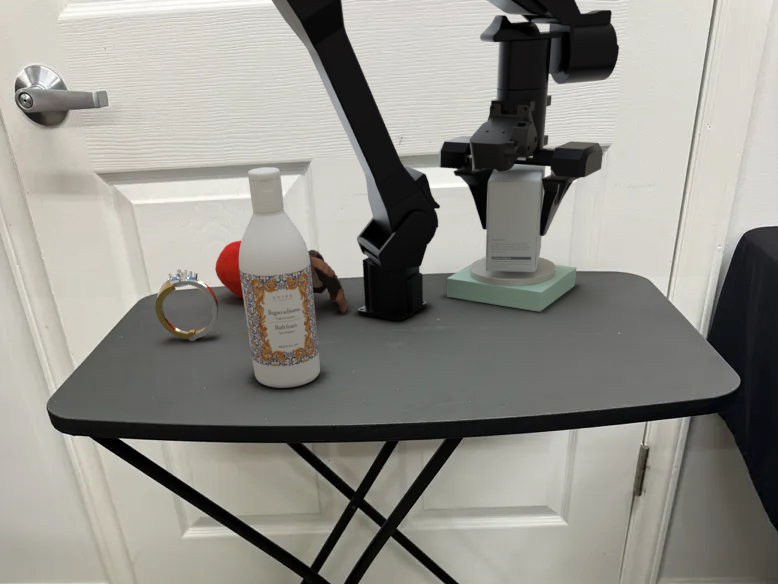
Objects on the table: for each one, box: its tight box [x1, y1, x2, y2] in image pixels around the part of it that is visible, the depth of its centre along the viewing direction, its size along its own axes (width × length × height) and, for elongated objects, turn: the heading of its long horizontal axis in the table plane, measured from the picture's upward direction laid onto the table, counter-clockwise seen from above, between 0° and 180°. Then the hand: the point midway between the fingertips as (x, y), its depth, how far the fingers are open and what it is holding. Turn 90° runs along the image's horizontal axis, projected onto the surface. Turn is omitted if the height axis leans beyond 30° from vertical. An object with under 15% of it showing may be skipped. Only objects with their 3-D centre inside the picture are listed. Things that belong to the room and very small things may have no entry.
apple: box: [214, 240, 243, 299], centre depth 101 cm, size 8×8×7 cm
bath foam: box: [239, 166, 321, 389], centre depth 76 cm, size 7×7×20 cm
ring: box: [154, 268, 219, 342], centre depth 89 cm, size 7×3×8 cm, turn 92°
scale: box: [446, 255, 577, 312], centre depth 100 cm, size 13×11×3 cm
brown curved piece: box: [308, 249, 348, 314], centre depth 98 cm, size 12×10×8 cm
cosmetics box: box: [485, 164, 546, 272], centre depth 95 cm, size 10×6×10 cm, turn 167°
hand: (513, 232), depth 96 cm, fingers closed on cosmetics box, 7 cm apart
